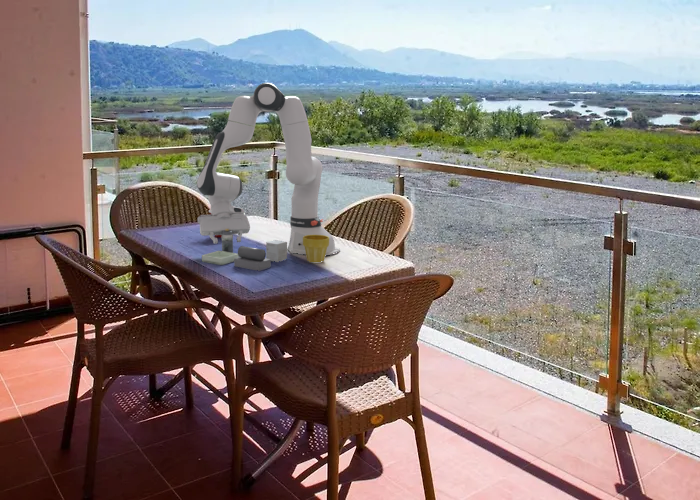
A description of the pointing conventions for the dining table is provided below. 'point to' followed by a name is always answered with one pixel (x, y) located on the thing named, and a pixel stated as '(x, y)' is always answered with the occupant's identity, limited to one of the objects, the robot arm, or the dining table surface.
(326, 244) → the plant pot
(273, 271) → the dining table surface
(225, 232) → the battery cell
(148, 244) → the dining table surface
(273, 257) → the product box
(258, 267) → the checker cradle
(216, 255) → the tray
